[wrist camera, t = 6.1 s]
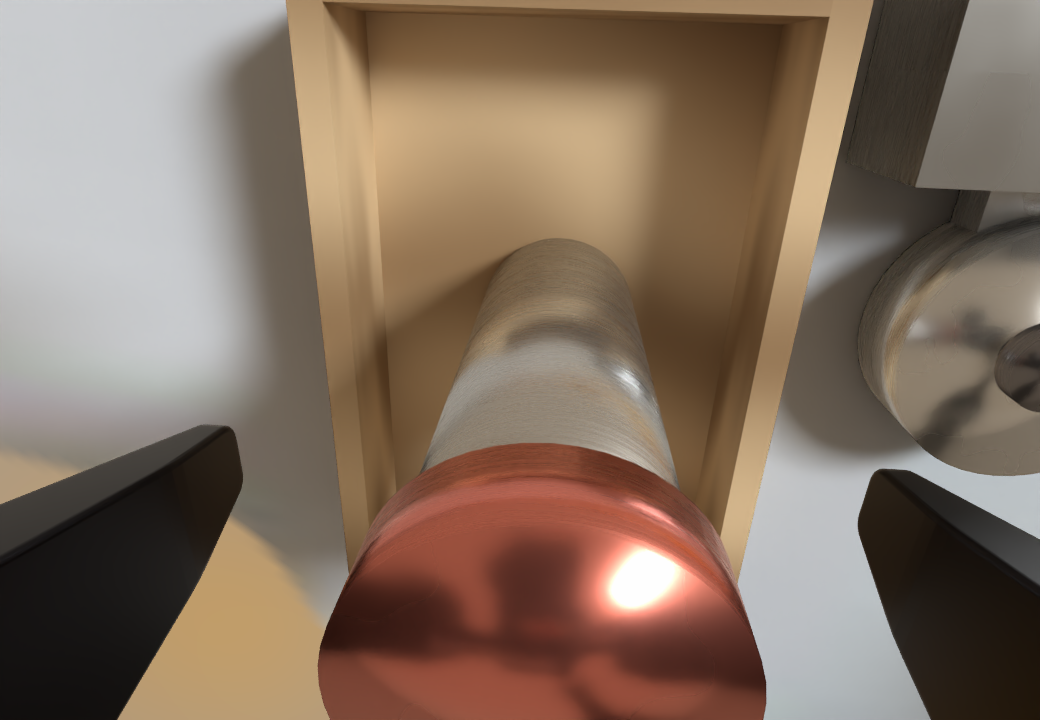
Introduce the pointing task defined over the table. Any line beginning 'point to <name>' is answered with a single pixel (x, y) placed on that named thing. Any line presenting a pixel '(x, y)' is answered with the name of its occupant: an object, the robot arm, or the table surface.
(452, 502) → the pin
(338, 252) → the tray
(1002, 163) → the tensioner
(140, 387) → the table surface
